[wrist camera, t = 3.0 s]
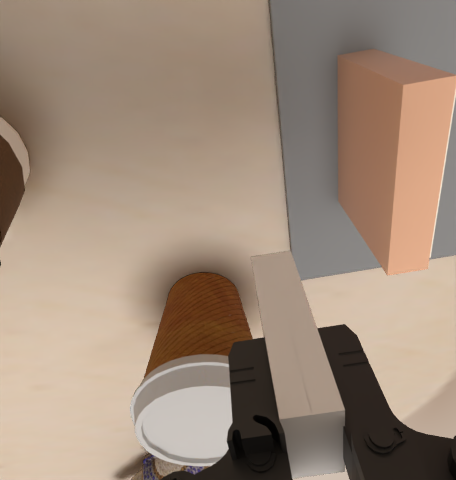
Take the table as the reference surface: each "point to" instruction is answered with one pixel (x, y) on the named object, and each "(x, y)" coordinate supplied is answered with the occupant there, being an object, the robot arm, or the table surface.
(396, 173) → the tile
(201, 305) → the disposable coffee cup
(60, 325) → the table surface
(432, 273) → the table surface
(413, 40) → the mat
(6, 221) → the coffee cup
